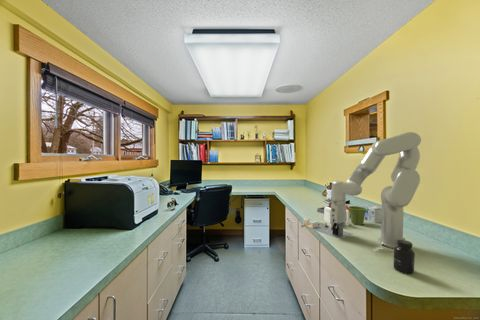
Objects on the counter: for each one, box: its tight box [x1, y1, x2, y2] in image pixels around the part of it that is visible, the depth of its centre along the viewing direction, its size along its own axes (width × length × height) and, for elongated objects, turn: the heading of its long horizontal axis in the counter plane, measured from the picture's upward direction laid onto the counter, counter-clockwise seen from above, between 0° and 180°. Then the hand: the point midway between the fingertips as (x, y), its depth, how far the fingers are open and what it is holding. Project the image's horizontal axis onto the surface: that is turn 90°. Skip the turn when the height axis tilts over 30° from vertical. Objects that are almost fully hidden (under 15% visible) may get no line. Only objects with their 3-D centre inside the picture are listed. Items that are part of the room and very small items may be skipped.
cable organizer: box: [323, 206, 350, 227], centre depth 144 cm, size 15×11×12 cm
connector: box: [332, 223, 344, 237], centre depth 122 cm, size 4×4×8 cm
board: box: [300, 218, 353, 240], centre depth 131 cm, size 27×14×5 cm, turn 33°
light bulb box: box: [362, 204, 382, 224], centre depth 156 cm, size 11×7×11 cm, turn 17°
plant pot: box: [348, 205, 367, 226], centre depth 148 cm, size 12×12×11 cm
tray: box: [317, 205, 351, 219], centre depth 176 cm, size 24×28×3 cm
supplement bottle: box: [392, 239, 416, 275], centre depth 86 cm, size 7×7×12 cm
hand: (337, 233), depth 122 cm, fingers closed on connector, 4 cm apart
